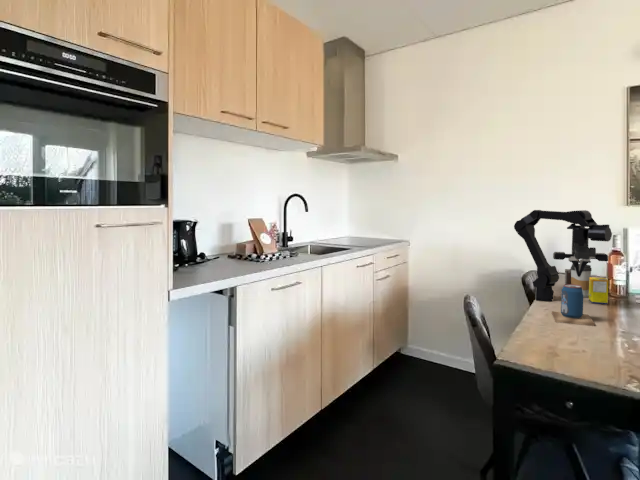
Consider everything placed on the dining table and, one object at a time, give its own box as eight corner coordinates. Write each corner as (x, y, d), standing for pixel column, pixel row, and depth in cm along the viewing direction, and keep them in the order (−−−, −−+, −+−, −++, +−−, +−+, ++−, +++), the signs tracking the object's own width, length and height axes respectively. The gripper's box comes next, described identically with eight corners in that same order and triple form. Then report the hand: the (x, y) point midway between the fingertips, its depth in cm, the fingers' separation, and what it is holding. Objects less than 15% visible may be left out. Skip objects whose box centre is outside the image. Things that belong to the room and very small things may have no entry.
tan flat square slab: (555, 321, 140) (555, 319, 139) (551, 313, 150) (551, 311, 150) (594, 325, 134) (594, 323, 134) (587, 317, 145) (588, 314, 145)
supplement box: (604, 301, 168) (605, 277, 167) (607, 304, 162) (608, 280, 161) (588, 300, 170) (589, 276, 169) (591, 303, 165) (592, 279, 164)
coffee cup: (595, 298, 174) (596, 266, 173) (576, 298, 174) (578, 266, 173) (582, 294, 182) (584, 263, 181) (565, 294, 182) (566, 264, 181)
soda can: (584, 316, 142) (586, 285, 141) (579, 320, 137) (580, 288, 137) (564, 313, 147) (565, 283, 146) (558, 316, 143) (559, 285, 142)
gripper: (556, 241, 155) (555, 278, 156) (612, 242, 147) (610, 281, 148) (553, 239, 165) (552, 274, 166) (605, 239, 157) (604, 276, 158)
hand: (578, 276), depth 159 cm, fingers closed
